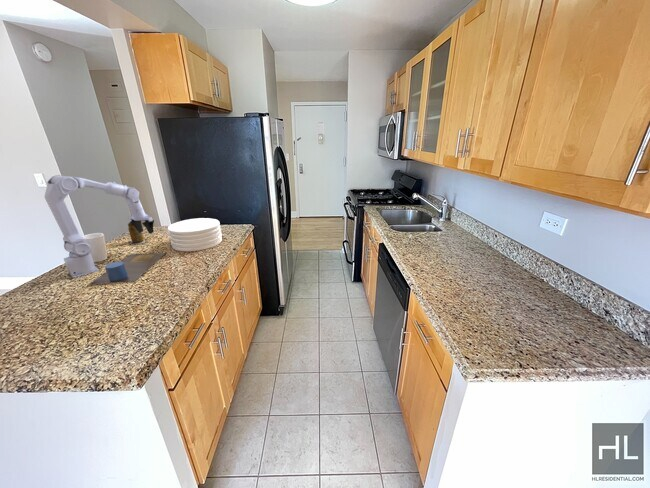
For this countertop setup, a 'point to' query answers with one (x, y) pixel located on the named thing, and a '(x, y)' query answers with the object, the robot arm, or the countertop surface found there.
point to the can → (116, 271)
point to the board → (132, 268)
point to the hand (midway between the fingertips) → (146, 232)
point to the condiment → (135, 235)
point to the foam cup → (96, 246)
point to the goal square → (142, 258)
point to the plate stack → (195, 234)
